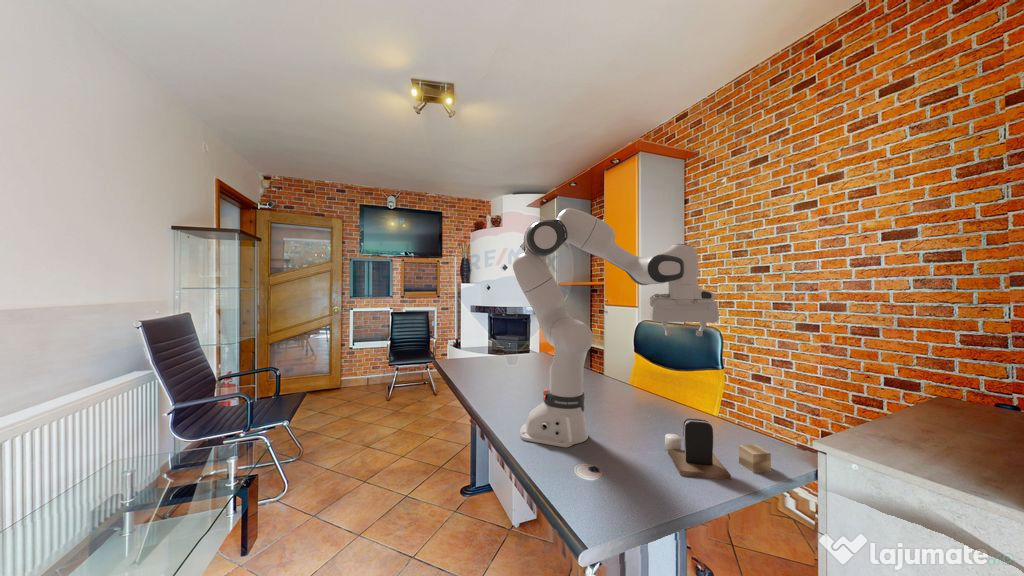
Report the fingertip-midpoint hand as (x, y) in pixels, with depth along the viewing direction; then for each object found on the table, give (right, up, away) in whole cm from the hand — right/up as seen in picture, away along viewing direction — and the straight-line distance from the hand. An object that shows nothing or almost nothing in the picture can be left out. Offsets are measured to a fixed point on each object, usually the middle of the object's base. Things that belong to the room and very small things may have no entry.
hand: (683, 335), depth 111 cm
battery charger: (-6, -32, -18) cm, 37 cm away
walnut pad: (-6, -33, -18) cm, 38 cm away
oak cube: (+10, -33, -19) cm, 40 cm away
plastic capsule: (-8, -33, -9) cm, 35 cm away
